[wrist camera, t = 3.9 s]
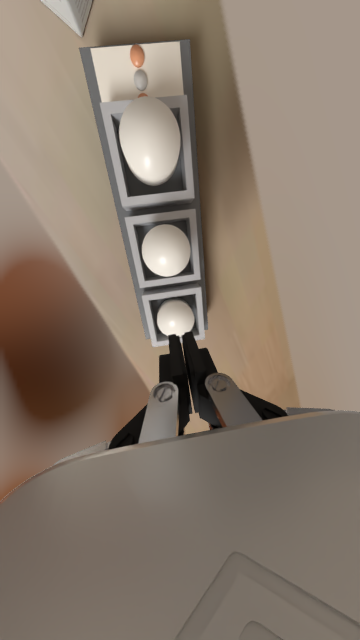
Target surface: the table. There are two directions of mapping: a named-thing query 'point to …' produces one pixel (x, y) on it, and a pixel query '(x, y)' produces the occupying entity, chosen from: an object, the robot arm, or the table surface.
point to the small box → (71, 12)
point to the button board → (137, 197)
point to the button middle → (166, 250)
